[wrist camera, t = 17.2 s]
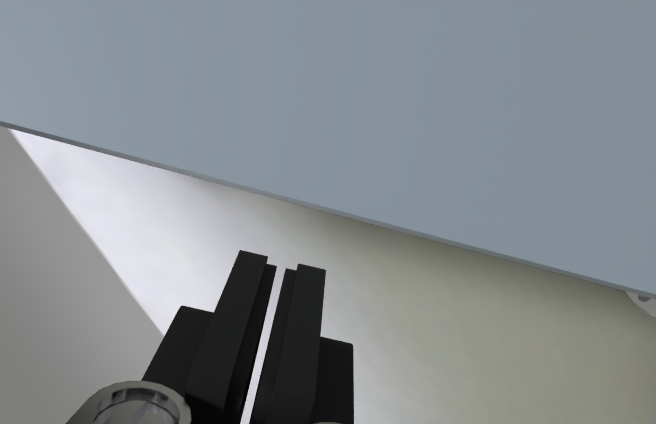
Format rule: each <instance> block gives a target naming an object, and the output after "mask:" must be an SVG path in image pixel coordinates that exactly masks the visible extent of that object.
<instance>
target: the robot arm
mask: <svg viewBox="0 0 656 424" xmlns="http://www.w3.org/2000/svg"><path fill="white" fill-rule="evenodd" d="M267 258H268V256H264V255H259V254H255V253H251V252H246V251H242V250H240V251H239V254H238V256H237V258H236V261H235V263H234V266H233V268H232V270H231V273H230V275H229V278H228V280H227V282H226V285H225V287H224V290H223V292H222V294H221V297H220V299H219V302H218V304H217V306H216V309H215V311H214V313H213V312H209V311H204V310H200V309H195V308H191V307H186V306H181V307H180V308H179V310H178V312H177V314H176V316H175V318H174V319H173V321H172V323H171V325H170V327H169V329H168V331H167V333H166V335H165V336H164V338H163V340H162V342H161V344H160V346H159V348H158V350H157V352H156V354H155V355H154V357H153V360H152V361H151V363H150V365H149V367H148V369H147V371H146V372H145V375H144V377H143V378H142V380H141V381H126V382H120V383H115V384H112V385H110V386H107V387H105V388H102V389H100V390H99V391H97V392H96V393H95V394H94V395H92V396H91V397H90V398H89V399H88V400H87V401H86V402H85V403H84V404H83V405H82V406H81V407H80V408H79V410H78V411H77V412H76V413H75V414H74V415H73V416H72V417H71V418H70V419H69V421H68V422H67V423H66V424H240V422H241V418H242V414H243V410H244V406H245V402H246V398H247V394H248V389H249V385H250V381H251V377H252V372H253V368H254V364H255V359H256V355H257V351H258V346H259V342H260V338H261V333H262V329H263V325H264V320H265V316H266V312H267V307H268V303H269V299H270V294H271V290H272V286H273V281H274V277H275V273H276V268H277V266H274V265H270V264H267ZM325 274H326V270H324V269H320V268H316V267H311V266H307V265H303V264H298V266H297V270H291V269H287V268H286V270H285V274H284V278H283V282H282V286H281V291H280V295H279V299H278V303H277V308H276V312H275V316H274V320H273V324H272V329H271V333H270V337H269V341H268V346H267V350H266V354H265V358H264V362H263V367H262V371H261V375H260V379H259V384H258V388H257V392H256V396H255V401H254V405H253V409H252V414H251V418H250V422H249V424H354V382H353V345H352V344H351V343H346V342H342V341H338V340H333V339H329V338H324V337H320V333H321V321H322V309H323V298H324V286H325ZM625 293H626V294H627V295H628V297H629V298H630V299H631V300H632V301H633V302H634V303H635V304H636V305H637V306H638V307H639V308H641V309H642V310H643V311H644V312H646V313H647V314H648V315H650V316H652V317H654V318H656V299H653V298H649V297H646V296H642V295H638V294H634V293H630V292H627V291H625Z"/></svg>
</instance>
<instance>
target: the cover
mask: <svg viewBox="0 0 656 424" xmlns="http://www.w3.org/2000/svg"><path fill="white" fill-rule="evenodd" d="M0 126H3V127H6V128H10V129H14V130H18V131H22V132H25V133H29V134H33V135H37V136H41V137H44V138H48V139H52V140H56V141H59V142H63V143H67V144H71V145H75V146H78V147H82V148H86V149H90V150H93V151H97V152H101V153H105V154H109V155H112V156H116V157H120V158H124V159H127V160H131V161H135V162H139V163H143V164H146V165H150V166H154V167H158V168H162V169H165V170H169V171H173V172H177V173H180V174H184V175H188V176H192V177H196V178H199V179H203V180H207V181H211V182H214V183H218V184H222V185H226V186H230V187H233V188H237V189H241V190H245V191H248V192H252V193H256V194H260V195H264V196H267V197H271V198H275V199H279V200H283V201H286V202H290V203H294V204H298V205H301V206H305V207H309V208H313V209H317V210H320V211H324V212H328V213H332V214H335V215H339V216H343V217H347V218H351V219H354V220H358V221H362V222H366V223H369V224H373V225H377V226H381V227H385V228H388V229H392V230H396V231H400V232H404V233H407V234H411V235H415V236H419V237H422V238H426V239H430V240H434V241H438V242H441V243H445V244H449V245H453V246H456V247H460V248H464V249H468V250H472V251H475V252H479V253H483V254H487V255H490V256H494V257H498V258H502V259H506V260H509V261H513V262H517V263H521V264H525V265H528V266H532V267H536V268H540V269H543V270H547V271H551V272H555V273H559V274H562V275H566V276H570V277H574V278H577V279H581V280H585V281H589V282H593V283H596V284H600V285H604V286H608V287H611V288H615V289H619V290H623V291H627V292H630V293H634V294H638V295H642V296H646V297H649V298H653V299H656V0H0Z"/></svg>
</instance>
